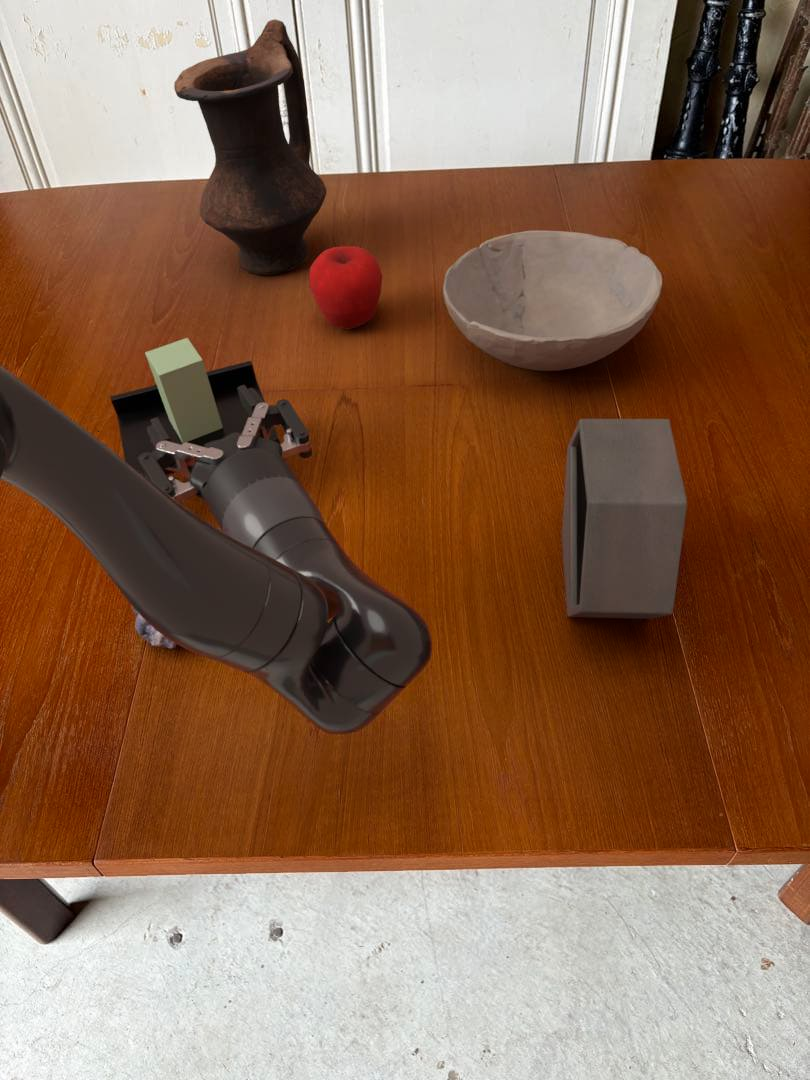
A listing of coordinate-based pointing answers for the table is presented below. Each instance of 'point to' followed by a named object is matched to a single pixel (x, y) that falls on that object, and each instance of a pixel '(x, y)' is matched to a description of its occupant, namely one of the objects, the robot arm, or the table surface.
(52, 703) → the table surface
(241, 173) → the jug
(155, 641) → the seashell
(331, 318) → the apple
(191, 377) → the block
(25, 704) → the table surface
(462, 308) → the bowl
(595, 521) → the grey open box
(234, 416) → the bench
